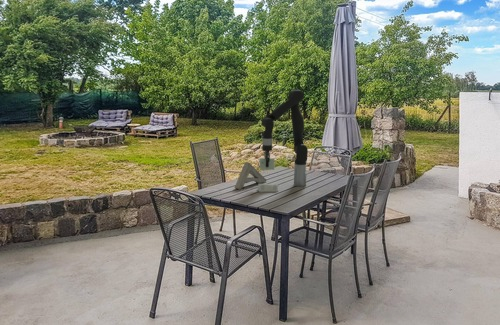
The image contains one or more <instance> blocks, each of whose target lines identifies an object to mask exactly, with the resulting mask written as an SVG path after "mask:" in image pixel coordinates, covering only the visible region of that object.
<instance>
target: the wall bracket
mask: <svg viewBox="0 0 500 325" xmlns="http://www.w3.org/2000/svg"><path fill="white" fill-rule="evenodd" d="M249 174H250V175H251V177H250V176H249ZM248 176H249V177H248ZM251 182H255V183H257V184H265V183H266V182H267V178H265V177H264V176H263V174H261V173H260V172H259V170H257V169H256V168H255V166H253V164H251V162H247V161H246V162H244V164H243V166H242V169H241V171H240V173H239V176H238V179H237V181H236V183H235V186H234V189H236V190H241V189H242V188H245V184H248V183H251Z"/></svg>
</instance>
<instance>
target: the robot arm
mask: <svg viewBox="0 0 500 325" xmlns="http://www.w3.org/2000/svg"><path fill="white" fill-rule="evenodd" d="M304 97H305V96H304V92H303V91H302V90H300V89H294V90H291V91H289V93H288V99H287V100H286V101H285V102H283V103H281V104H280V105H278V106H277V107H276V108H275V109H274V110H273V111H272V112H271V113H268V115H266V116H264V117H263V118H262V120H261V125H262V126H263V128H264V130H263V131H262V141H261V142H262V145H261V148H262V151H263V152H264V154H263V155H264V157H263V158H265V159H266V167H269V161H270V158H271V153H270V152H272V151H273V131H274V127H275V121H278V120H279V119H280V118H281V117H283V115H284V114H285V113H287V111H289V110H290V115H291V127H292V135H293V151H294V152H293V153H295V160H294V166H293V167H294V168H293V169H294V170H293V186H295V187H306V186H307V161H308V156H309V155H308V153H309V152H308V146H306V145H305V142H304V130H305V121H304V116H303V114H302V111H301V110H300V105H299V103H300V102H301V101H303V99H304Z"/></svg>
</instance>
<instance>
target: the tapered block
mask: <svg viewBox="0 0 500 325" xmlns="http://www.w3.org/2000/svg"><path fill="white" fill-rule="evenodd" d="M259 170H261V171H262V170H263V171H265V170H266V171H270V170H274V171H275V157H274V158H273V157H270V161H269V167H266V159H265V158H264V157H262V158H261V157H260V158H259Z"/></svg>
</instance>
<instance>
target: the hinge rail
mask: <svg viewBox="0 0 500 325" xmlns="http://www.w3.org/2000/svg"><path fill="white" fill-rule="evenodd" d="M257 185H258V186H257V190H258V192H260V193H263V192H264V193H268V192H269V193H270V192H271V193H272V192H273V193H274V192H275V193H276V192H277V193H278V192H279V185H278V183H262V184H261V183H257Z"/></svg>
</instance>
